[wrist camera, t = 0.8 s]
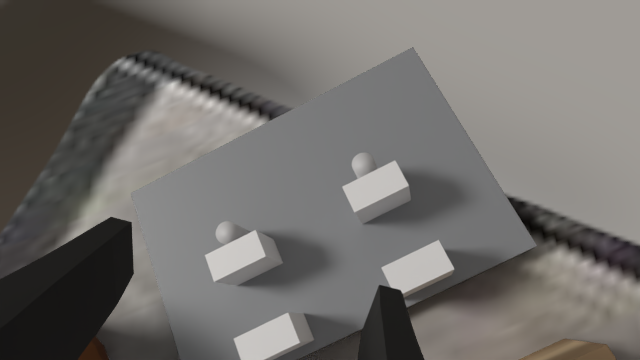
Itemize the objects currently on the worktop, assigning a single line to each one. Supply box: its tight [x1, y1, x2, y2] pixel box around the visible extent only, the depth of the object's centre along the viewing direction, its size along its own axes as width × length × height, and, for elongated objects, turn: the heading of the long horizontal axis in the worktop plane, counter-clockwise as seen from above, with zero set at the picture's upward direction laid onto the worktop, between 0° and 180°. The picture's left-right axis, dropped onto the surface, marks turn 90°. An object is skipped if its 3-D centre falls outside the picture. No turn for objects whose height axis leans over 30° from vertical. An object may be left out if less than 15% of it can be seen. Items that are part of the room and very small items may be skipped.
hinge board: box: [131, 47, 537, 360], centre depth 26 cm, size 14×20×4 cm
